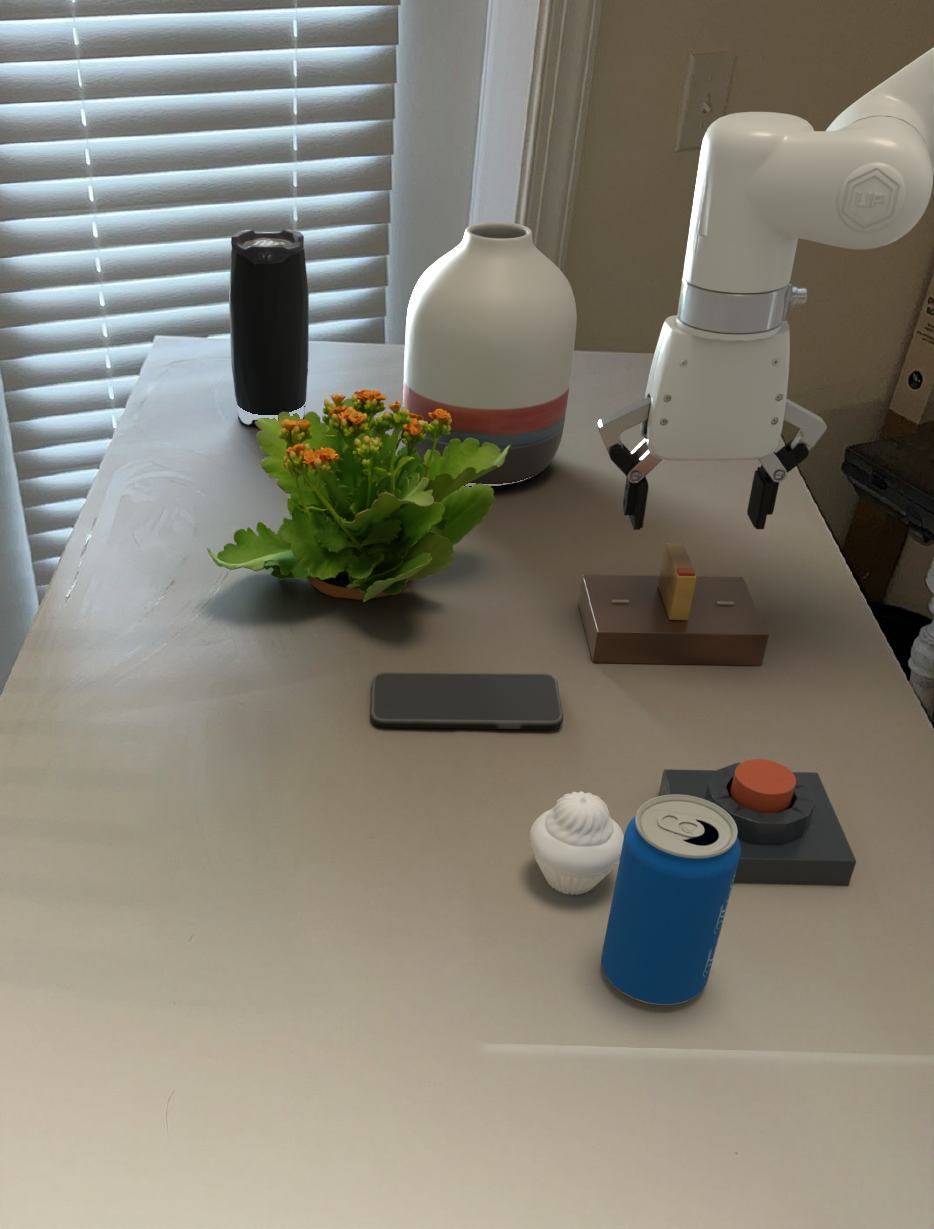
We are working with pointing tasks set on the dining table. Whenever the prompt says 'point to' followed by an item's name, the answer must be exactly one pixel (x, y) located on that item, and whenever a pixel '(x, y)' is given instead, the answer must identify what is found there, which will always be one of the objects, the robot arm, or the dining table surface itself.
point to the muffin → (576, 843)
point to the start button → (763, 786)
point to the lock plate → (671, 622)
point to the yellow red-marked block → (677, 581)
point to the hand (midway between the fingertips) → (694, 522)
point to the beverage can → (670, 898)
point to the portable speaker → (269, 321)
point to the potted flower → (365, 498)
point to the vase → (493, 348)
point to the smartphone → (466, 700)
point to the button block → (776, 830)
